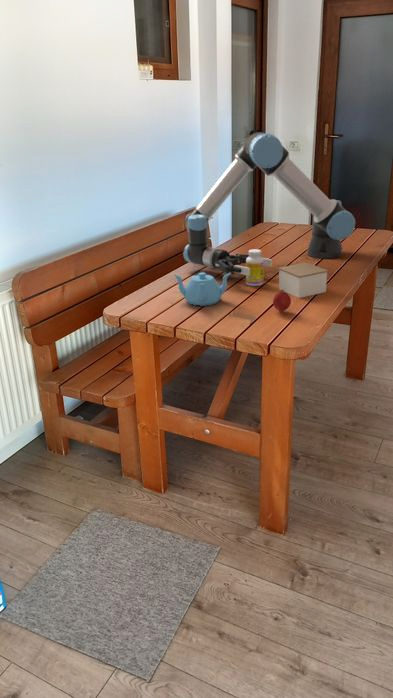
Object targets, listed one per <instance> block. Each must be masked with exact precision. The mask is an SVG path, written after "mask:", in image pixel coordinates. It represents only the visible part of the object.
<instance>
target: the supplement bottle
mask: <svg viewBox="0 0 393 698" xmlns="http://www.w3.org/2000/svg"><path fill="white" fill-rule="evenodd" d="M248 255H249V257H247V259H246V264H245V267H248V268H250V275H249V276H248V275H245V283H246V285H248V286H251V287H260V286H262V285H263V284H264V279H265V278H264V277H265V276H264V274H265V271H264V269H265V268H264V267H265V266H264V259H263V258H264V257H263V256H261V255H262V250H261V249H259V248H258V249H257V248H255V249H254V248H253V249H249V250H248Z"/></svg>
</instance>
